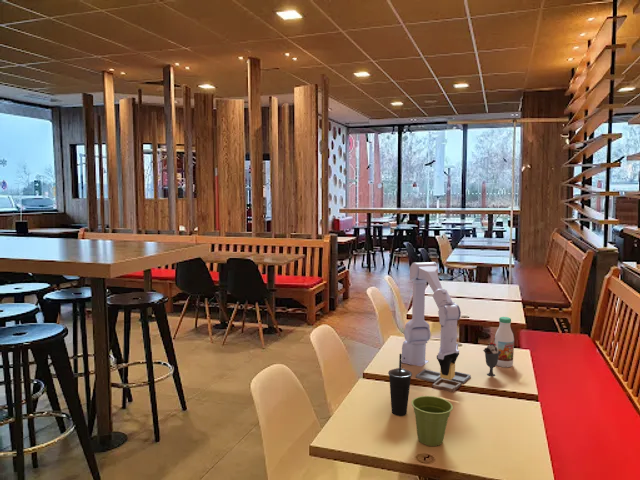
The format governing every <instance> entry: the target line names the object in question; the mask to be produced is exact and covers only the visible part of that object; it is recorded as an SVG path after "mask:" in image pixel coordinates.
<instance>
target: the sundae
mask: <svg viewBox="0 0 640 480" xmlns="http://www.w3.org/2000/svg"><path fill="white" fill-rule="evenodd" d="M494 342H495V337H493V340H492V342H490V343H489V344H488V345H487V346H486V347H485V348H484V349H483V350H482V351H483V352H484V356H485V364H486V365H487V366H488V368H489V371H488V373H486V376H488V377H496V374H494V372H493V371H494V368H495V367H496V366H497V362H498V357H499V354H501V351H499V350H498V348H497V347H496V344H494Z"/></svg>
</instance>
